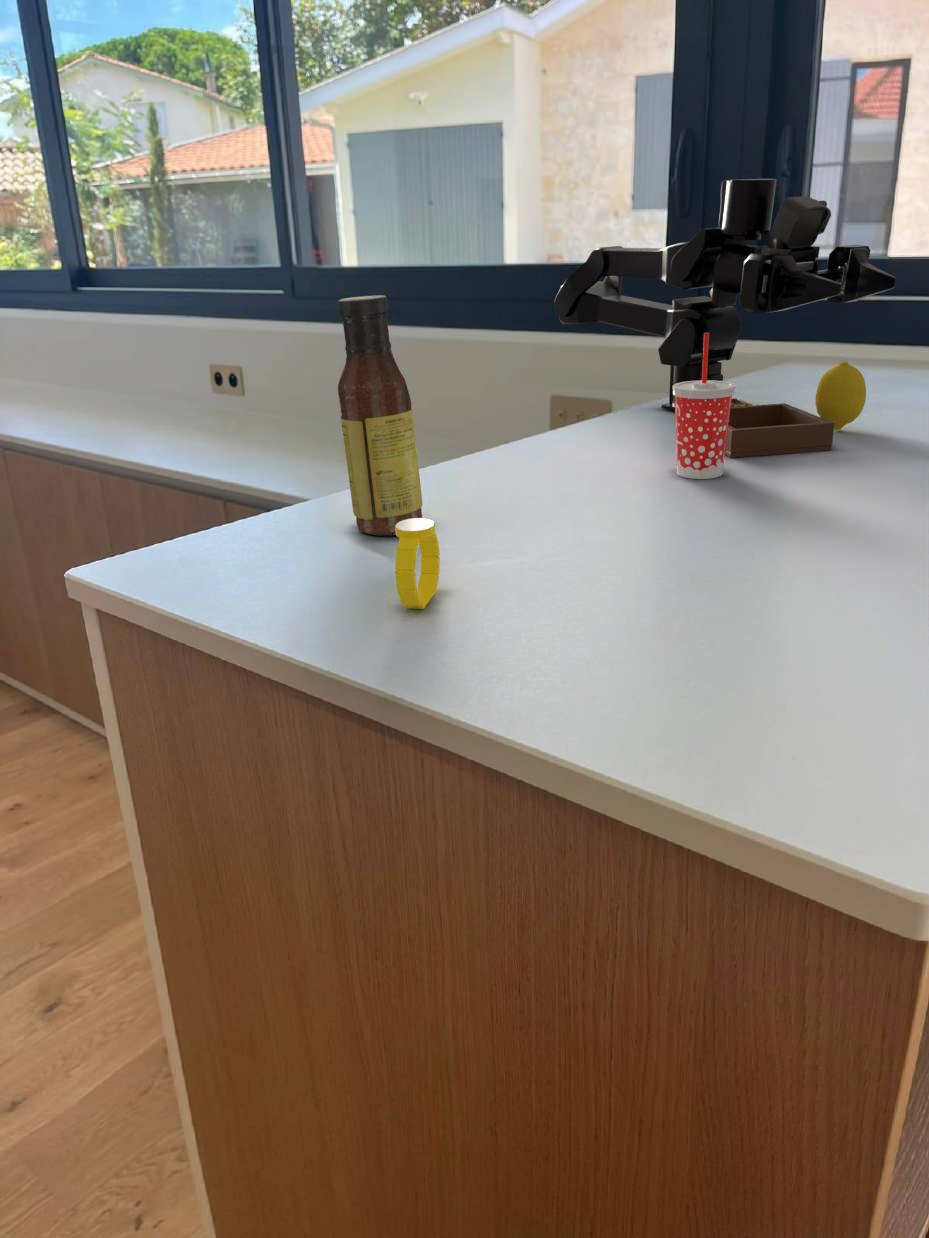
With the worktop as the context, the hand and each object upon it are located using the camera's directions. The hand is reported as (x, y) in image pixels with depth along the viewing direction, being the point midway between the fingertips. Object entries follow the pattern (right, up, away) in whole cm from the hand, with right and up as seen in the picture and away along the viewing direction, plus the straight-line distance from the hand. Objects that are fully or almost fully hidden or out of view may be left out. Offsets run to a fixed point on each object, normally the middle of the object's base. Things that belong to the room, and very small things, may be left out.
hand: (868, 286), depth 103 cm
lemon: (+1, -14, +10) cm, 17 cm away
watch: (-47, -35, -35) cm, 68 cm away
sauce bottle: (-51, -28, -17) cm, 61 cm away
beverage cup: (-20, -21, -5) cm, 30 cm away
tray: (-10, -16, +7) cm, 20 cm away
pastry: (-10, -11, +19) cm, 24 cm away
